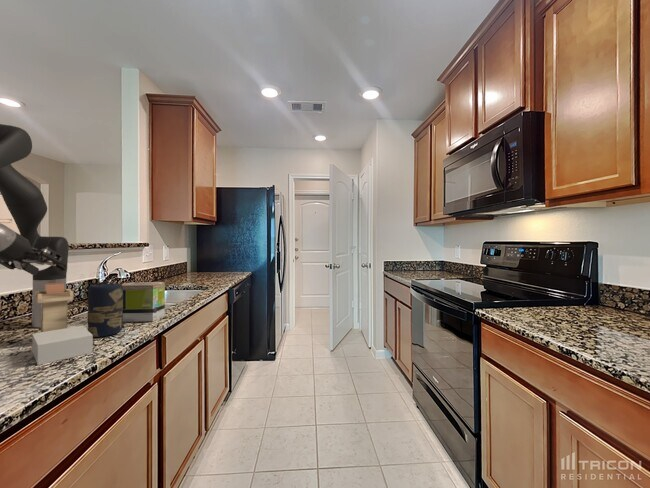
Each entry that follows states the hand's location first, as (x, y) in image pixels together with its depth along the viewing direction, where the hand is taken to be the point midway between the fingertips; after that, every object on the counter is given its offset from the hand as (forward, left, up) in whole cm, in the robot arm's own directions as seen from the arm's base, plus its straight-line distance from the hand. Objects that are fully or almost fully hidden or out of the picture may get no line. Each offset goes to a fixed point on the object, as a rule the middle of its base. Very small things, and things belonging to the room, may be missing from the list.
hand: (50, 270), depth 87 cm
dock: (+10, -2, -23) cm, 25 cm away
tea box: (-3, +31, -23) cm, 39 cm away
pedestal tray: (-4, +3, -23) cm, 23 cm away
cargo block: (-4, +3, -9) cm, 10 cm away
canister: (+5, +13, -23) cm, 27 cm away
